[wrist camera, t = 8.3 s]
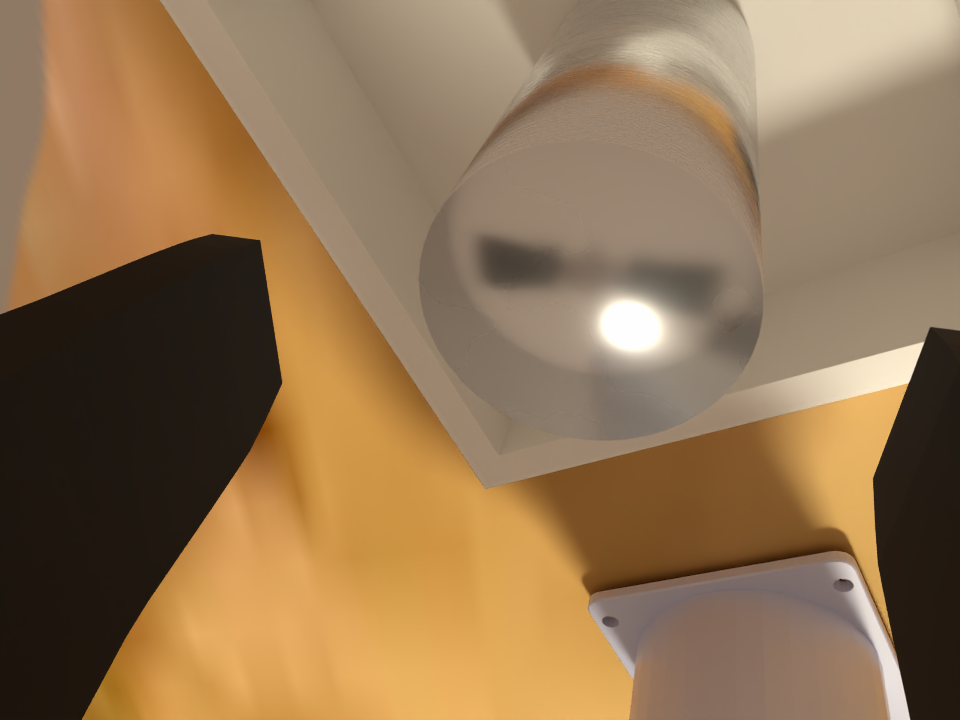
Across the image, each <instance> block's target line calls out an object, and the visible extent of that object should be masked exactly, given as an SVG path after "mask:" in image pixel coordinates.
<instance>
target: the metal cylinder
mask: <svg viewBox="0 0 960 720" xmlns="http://www.w3.org/2000/svg"><path fill="white" fill-rule="evenodd" d="M419 291H420V301H421V305H422V310H423V315H424V318H425V321H426V324H427V327H428V329H429V332H430V335H431V337H432V339H433V341H434V343H435V345H436V347H437V349H438V350H439V352H440V354H441V355H442V357H443V358H444V360H445V361H446V363H447V364H448V365H449V367H450V368H451V369H452V371H453V372H454V373H455V374H456V375H457V376H458V378H459V379H460V380H461V381H462V382H463V383H464V384H465V385H466V386H467V387H468V388H469V389H470V390H472V391H473V392H474V393H475V394H476V395H477V396H478V397H480V398H481V399H482V400H484V401H485V402H486V403H488V404H489V405H490V406H492V407H493V408H495V409H497V410H498V411H500V412H502V413H503V414H505V415H507V416H508V417H510V418H512V419H514V420H516V421H519V422H521V423H523V424H525V425H527V426H530V427H533V428H536V429H538V430H541V431H544V432H547V433H551V434H555V435H560V436H564V437H569V438H576V439H583V440H601V441H610V440H625V439H632V438H638V437H644V436H648V435H652V434H655V433H659V432H662V431H666V430H668V429H670V428H673V427H675V426H678V425H680V424H682V423H685V422H686V421H688V420H690V419H692V418H693V417H695V416H697V415H699V414H700V413H702V412H703V411H705V410H706V409H707V408H709V407H710V406H711V405H713V404H714V403H715V402H717V401H718V400H719V399H720V398H721V397H722V396H723V395H724V394H725V393H726V392H727V391H728V390H729V389H730V388H731V387H732V385H733V384H734V383H735V382H736V380H737V379H738V378H739V376H740V375H741V374H742V372H743V371H744V369H745V367H746V365H747V363H748V362H749V360H750V358H751V356H752V354H753V351H754V349H755V346H756V343H757V340H758V338H759V334H760V328H761V323H762V318H763V268H762V239H761V211H760V182H759V153H758V124H757V95H756V66H755V53H754V45H753V42H752V38H751V34H750V31H749V29H748V26H747V24H746V22H745V19H744V18H743V16H742V14H741V13H740V11H739V9H738V8H737V7H736V5H735V4H734V3H733V2H732V0H580V1H579V2H578V3H577V4H576V6H575V7H574V8H573V9H572V11H571V12H570V13H569V15H568V16H567V18H566V19H565V21H564V22H563V24H562V25H561V27H560V28H559V30H558V31H557V33H556V34H555V36H554V37H553V39H552V41H551V42H550V44H549V45H548V47H547V48H546V50H545V51H544V53H543V54H542V56H541V57H540V59H539V60H538V62H537V63H536V65H535V66H534V68H533V69H532V71H531V72H530V74H529V75H528V77H527V78H526V80H525V81H524V83H523V84H522V86H521V87H520V89H519V90H518V92H517V94H516V95H515V97H514V98H513V100H512V101H511V103H510V104H509V106H508V107H507V109H506V110H505V112H504V113H503V115H502V116H501V118H500V119H499V121H498V122H497V124H496V125H495V127H494V128H493V130H492V131H491V133H490V134H489V136H488V137H487V139H486V140H485V142H484V144H483V145H482V147H481V148H480V150H479V151H478V153H477V154H476V156H475V157H474V159H473V160H472V162H471V163H470V165H469V166H468V168H467V169H466V171H465V172H464V174H463V175H462V177H461V178H460V180H459V181H458V183H457V184H456V186H455V187H454V189H453V190H452V192H451V194H450V195H449V197H448V198H447V200H446V201H445V203H444V204H443V206H442V207H441V209H440V211H439V212H438V214H437V216H436V217H435V219H434V221H433V223H432V224H431V227H430V229H429V232H428V234H427V237H426V240H425V242H424V246H423V250H422V255H421V259H420V269H419Z"/></svg>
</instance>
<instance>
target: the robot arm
mask: <svg viewBox="0 0 960 720" xmlns="http://www.w3.org/2000/svg"><path fill="white" fill-rule="evenodd" d="M281 385H282V378H281V371H280V365H279V359H278V352H277V346H276V339H275V333H274V326H273V320H272V314H271V307H270V301H269V294H268V288H267V281H266V275H265V269H264V262H263V256H262V249H261V243H260V240H254V239H246V238H238V237H231V236H223V235H215V234H210V235H207V236H203V237H199V238H196V239H192V240H189V241H186V242H183V243H180V244H177V245H175V246H172V247H169V248H166V249H164V250H161V251H158V252H156V253H153V254H151V255H148V256H146V257H143V258H141V259H138V260H136V261H133V262H131V263H128V264H126V265H123V266H121V267H118V268H116V269H114V270H111V271H109V272H106V273H104V274H101V275H99V276H96V277H94V278H92V279H89V280H87V281H84V282H82V283H79V284H77V285H74V286H72V287H70V288H67V289H65V290H62V291H60V292H57V293H55V294H52V295H50V296H48V297H45V298H43V299H40V300H38V301H35V302H32V303H30V304H27V305H24V306H22V307H19V308H16V309H14V310H11V311H8V312H6V313H3V314H0V720H82V718H83V716H84V714H85V712H86V710H87V709H88V707H89V705H90V703H91V701H92V699H93V697H94V696H95V694H96V692H97V690H98V688H99V686H100V684H101V683H102V681H103V679H104V677H105V675H106V673H107V671H108V669H109V668H110V666H111V664H112V662H113V660H114V658H115V656H116V655H117V653H118V651H119V649H120V647H121V645H122V643H123V642H124V640H125V638H126V636H127V635H128V633H129V631H130V630H131V628H132V627H133V625H134V623H135V622H136V620H137V618H138V617H139V615H140V614H141V612H142V610H143V609H144V607H145V606H146V604H147V602H148V601H149V599H150V598H151V596H152V595H153V593H154V592H155V591H156V589H157V588H158V586H159V585H160V583H161V582H162V580H163V579H164V577H165V576H166V574H167V573H168V572H169V570H170V569H171V567H172V566H173V564H174V563H175V561H176V560H177V558H178V557H179V555H180V554H181V553H182V551H183V550H184V548H185V547H186V545H187V544H188V542H189V541H190V539H191V538H192V536H193V535H194V534H195V532H196V531H197V529H198V528H199V526H200V525H201V523H202V522H203V520H204V519H205V518H206V516H207V515H208V513H209V512H210V510H211V509H212V507H213V506H214V504H215V503H216V501H217V500H218V498H219V497H220V495H221V494H222V492H223V491H224V489H225V488H226V486H227V485H228V483H229V482H230V480H231V479H232V477H233V476H234V474H235V473H236V472H237V470H238V469H239V467H240V465H241V464H242V462H243V461H244V459H245V458H246V456H247V455H248V453H249V451H250V450H251V448H252V446H253V444H254V442H255V440H256V438H257V436H258V434H259V432H260V430H261V428H262V426H263V424H264V422H265V420H266V418H267V415H268V413H269V411H270V409H271V407H272V404H273V402H274V400H275V398H276V396H277V394H278V391H279V389H280V387H281ZM873 489H874V511H875V530H876V544H877V557H878V566H879V572H880V577H881V582H882V587H883V592H884V597H885V602H886V607H887V612H888V617H889V622H890V627H891V632H892V636H893V641H894V646H895V649H894V647H893V645H892V643H891V640H890V638H889V636H888V633H887V631H886V629H885V627H884V624H883V622H882V620H881V617H880V615H879V613H878V611H877V608H876V606H875V604H874V601H873V599H872V597H871V595H870V592H869V590H868V588H867V586H866V583H865V581H864V579H863V576H862V574H861V572H860V570H859V567H858V565H857V563H856V560H855V559H854V558H853V557H852V556H851V555H849V554H848V553H846V552H841V551H829V552H824V553H818V554H812V555H807V556H801V557H795V558H789V559H784V560H778V561H772V562H767V563H761V564H755V565H749V566H744V567H738V568H732V569H726V570H721V571H715V572H709V573H704V574H698V575H692V576H686V577H681V578H675V579H669V580H664V581H658V582H652V583H646V584H641V585H635V586H629V587H624V588H618V589H612V590H606V591H601V592H597V593H594V594H592V595H591V596H590V599H589V605H588V610H589V613H590V614H591V616H592V617H593V619H594V620H595V622H596V624H597V625H598V627H599V628H600V630H601V631H602V633H603V634H604V636H605V637H606V639H607V640H608V642H609V644H610V645H611V647H612V648H613V650H614V651H615V653H616V654H617V656H618V657H619V659H620V660H621V662H622V664H623V665H624V667H625V668H626V670H627V671H628V673H629V674H630V676H631V677H632V679H633V690H632V699H631V708H630V718H629V720H960V331H959V330H951V329H943V328H936V327H930V328H929V331H928V334H927V336H926V339H925V342H924V344H923V347H922V350H921V352H920V355H919V358H918V360H917V363H916V366H915V368H914V371H913V374H912V376H911V379H910V382H909V384H908V387H907V390H906V392H905V395H904V398H903V400H902V403H901V405H900V408H899V411H898V413H897V416H896V419H895V421H894V424H893V427H892V429H891V432H890V435H889V437H888V440H887V443H886V445H885V448H884V451H883V453H882V456H881V459H880V461H879V464H878V467H877V469H876V472H875V475H874V477H873ZM839 579H847V580H846V581H838V580H839ZM609 616H611V617H609ZM895 651H896V652H895Z"/></svg>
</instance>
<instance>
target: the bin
mask: <svg viewBox="0 0 960 720" xmlns="http://www.w3.org/2000/svg"><path fill="white" fill-rule="evenodd" d="M160 1H161V3H162V4H163V6H164V7H165V9H166V10H167V12H168V13H169V15H170V16H171V18H172V19H173V21H174V22H175V24H176V25H177V27H178V28H179V30H180V31H181V33H182V34H183V36H184V37H185V39H186V40H187V42H188V43H189V45H190V46H191V48H192V49H193V51H194V52H195V54H196V55H197V57H198V58H199V60H200V61H201V63H202V64H203V66H204V67H205V69H206V70H207V72H208V73H209V75H210V76H211V78H212V79H213V81H214V82H215V84H216V85H217V87H218V88H219V90H220V91H221V93H222V94H223V96H224V97H225V99H226V100H227V102H228V103H229V105H230V106H231V108H232V109H233V111H234V112H235V114H236V115H237V117H238V118H239V120H240V121H241V123H242V124H243V126H244V127H245V129H246V130H247V132H248V133H249V135H250V136H251V138H252V139H253V141H254V142H255V144H256V145H257V147H258V148H259V150H260V151H261V153H262V154H263V156H264V157H265V159H266V160H267V162H268V163H269V165H270V166H271V168H272V169H273V171H274V172H275V174H276V175H277V177H278V178H279V180H280V181H281V183H282V184H283V186H284V187H285V189H286V190H287V192H288V193H289V195H290V196H291V198H292V199H293V201H294V202H295V204H296V205H297V207H298V208H299V210H300V211H301V213H302V214H303V216H304V217H305V219H306V220H307V222H308V223H309V225H310V226H311V228H312V229H313V231H314V232H315V234H316V235H317V237H318V238H319V240H320V241H321V243H322V244H323V246H324V247H325V249H326V250H327V252H328V253H329V255H330V257H331V258H332V260H333V261H334V263H335V264H336V266H337V267H338V269H339V270H340V272H341V273H342V275H343V276H344V278H345V279H346V281H347V282H348V284H349V285H350V287H351V288H352V290H353V291H354V293H355V294H356V296H357V297H358V299H359V300H360V302H361V303H362V305H363V306H364V308H365V309H366V311H367V312H368V314H369V315H370V317H371V318H372V320H373V321H374V323H375V324H376V326H377V327H378V329H379V330H380V332H381V333H382V335H383V336H384V338H385V339H386V341H387V342H388V344H389V345H390V347H391V348H392V350H393V351H394V353H395V354H396V356H397V357H398V359H399V360H400V362H401V363H402V365H403V366H404V368H405V369H406V371H407V372H408V374H409V375H410V377H411V378H412V380H413V381H414V383H415V384H416V386H417V387H418V389H419V390H420V392H421V393H422V395H423V396H424V398H425V399H426V401H427V402H428V404H429V405H430V407H431V408H432V410H433V411H434V413H435V414H436V416H437V417H438V419H439V420H440V422H441V423H442V425H443V426H444V428H445V429H446V431H447V432H448V434H449V435H450V437H451V438H452V440H453V441H454V443H455V444H456V446H457V447H458V449H459V450H460V452H461V453H462V455H463V456H464V458H465V459H466V461H467V462H468V464H469V465H470V467H471V468H472V470H473V471H474V473H475V474H476V476H477V477H478V479H479V480H480V482H481V483H482V485H483V486H484V488H485V489H488V488H492V487H496V486H500V485H504V484H508V483H512V482H516V481H520V480H524V479H528V478H532V477H536V476H540V475H544V474H548V473H552V472H556V471H560V470H564V469H568V468H572V467H576V466H580V465H584V464H588V463H592V462H596V461H600V460H604V459H608V458H612V457H616V456H620V455H624V454H628V453H632V452H636V451H640V450H644V449H648V448H652V447H656V446H660V445H664V444H667V443H671V442H675V441H679V440H683V439H687V438H691V437H695V436H699V435H703V434H707V433H711V432H715V431H719V430H723V429H727V428H731V427H735V426H739V425H743V424H747V423H751V422H755V421H759V420H763V419H767V418H771V417H775V416H779V415H783V414H787V413H791V412H795V411H799V410H803V409H807V408H811V407H815V406H819V405H823V404H827V403H831V402H835V401H839V400H843V399H847V398H851V397H855V396H859V395H863V394H867V393H871V392H875V391H879V390H883V389H887V388H891V387H895V386H899V385H903V384H907V383H909V382H910V379H911V376H912V374H913V371H914V368H915V366H916V363H917V360H918V358H919V355H920V352H921V350H922V347H923V344H924V342H925V339H926V336H927V334H928V331H929V328H930V327H936V328H943V329H951V330H959V331H960V0H732V2H733V3H734V4H735V5H736V7H737V8H738V9H739V11H740V13H741V14H742V16H743V18H744V19H745V22H746V24H747V26H748V29H749V31H750V34H751V38H752V42H753V45H754V53H755V66H756V95H757V124H758V153H759V182H760V211H761V239H762V268H763V318H762V323H761V328H760V334H759V338H758V340H757V343H756V346H755V349H754V351H753V354H752V356H751V358H750V360H749V362H748V363H747V365H746V367H745V369H744V371H743V372H742V374H741V375H740V376H739V378H738V379H737V380H736V382H735V383H734V384H733V385H732V387H731V388H730V389H729V390H728V391H727V392H726V393H725V394H724V395H723V396H722V397H721V398H720V399H719V400H718V401H717V402H715V403H714V404H713V405H711V406H710V407H709V408H707V409H706V410H705V411H703V412H702V413H700V414H699V415H697V416H695V417H693V418H692V419H690V420H688V421H686V422H685V423H682V424H680V425H678V426H675V427H673V428H670V429H668V430H666V431H662V432H659V433H655V434H652V435H648V436H644V437H638V438H632V439H625V440H610V441H601V440H583V439H576V438H569V437H564V436H560V435H555V434H551V433H547V432H544V431H541V430H538V429H536V428H533V427H530V426H527V425H525V424H523V423H521V422H519V421H516V420H514V419H512V418H510V417H508V416H507V415H505V414H503V413H502V412H500V411H498V410H497V409H495V408H493V407H492V406H490V405H489V404H488V403H486V402H485V401H484V400H482V399H481V398H480V397H478V396H477V395H476V394H475V393H474V392H473V391H472V390H470V389H469V388H468V387H467V386H466V385H465V384H464V383H463V382H462V381H461V380H460V379H459V378H458V376H457V375H456V374H455V373H454V372H453V371H452V369H451V368H450V367H449V365H448V364H447V363H446V361H445V360H444V358H443V357H442V355H441V354H440V352H439V350H438V349H437V347H436V345H435V343H434V341H433V339H432V337H431V335H430V332H429V329H428V327H427V324H426V321H425V318H424V315H423V310H422V305H421V301H420V291H419V269H420V259H421V255H422V250H423V246H424V242H425V240H426V237H427V234H428V232H429V229H430V227H431V224H432V223H433V221H434V219H435V217H436V216H437V214H438V212H439V211H440V209H441V207H442V206H443V204H444V203H445V201H446V200H447V198H448V197H449V195H450V194H451V192H452V190H453V189H454V187H455V186H456V184H457V183H458V181H459V180H460V178H461V177H462V175H463V174H464V172H465V171H466V169H467V168H468V166H469V165H470V163H471V162H472V160H473V159H474V157H475V156H476V154H477V153H478V151H479V150H480V148H481V147H482V145H483V144H484V142H485V140H486V139H487V137H488V136H489V134H490V133H491V131H492V130H493V128H494V127H495V125H496V124H497V122H498V121H499V119H500V118H501V116H502V115H503V113H504V112H505V110H506V109H507V107H508V106H509V104H510V103H511V101H512V100H513V98H514V97H515V95H516V94H517V92H518V90H519V89H520V87H521V86H522V84H523V83H524V81H525V80H526V78H527V77H528V75H529V74H530V72H531V71H532V69H533V68H534V66H535V65H536V63H537V62H538V60H539V59H540V57H541V56H542V54H543V53H544V51H545V50H546V48H547V47H548V45H549V44H550V42H551V41H552V39H553V37H554V36H555V34H556V33H557V31H558V30H559V28H560V27H561V25H562V24H563V22H564V21H565V19H566V18H567V16H568V15H569V13H570V12H571V11H572V9H573V8H574V7H575V6H576V4H577V3H578V2H579V1H580V0H160Z"/></svg>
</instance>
